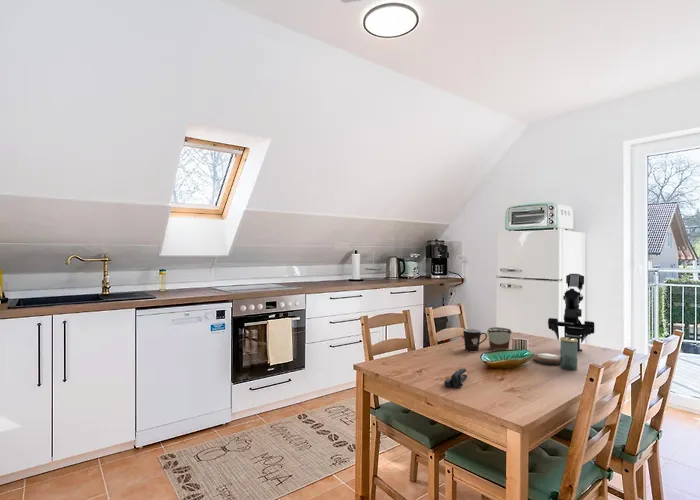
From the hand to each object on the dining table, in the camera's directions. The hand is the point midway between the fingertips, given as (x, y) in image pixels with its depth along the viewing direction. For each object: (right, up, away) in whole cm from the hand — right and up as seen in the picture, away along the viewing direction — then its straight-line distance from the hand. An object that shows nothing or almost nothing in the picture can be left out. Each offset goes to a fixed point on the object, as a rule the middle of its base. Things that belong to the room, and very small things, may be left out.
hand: (569, 340), depth 188 cm
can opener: (-56, -11, -24) cm, 62 cm away
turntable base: (-7, -11, +7) cm, 14 cm away
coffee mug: (-35, -11, +26) cm, 45 cm away
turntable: (-7, -10, +7) cm, 14 cm away
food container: (-20, -11, +33) cm, 40 cm away
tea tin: (-3, -11, -4) cm, 12 cm away
